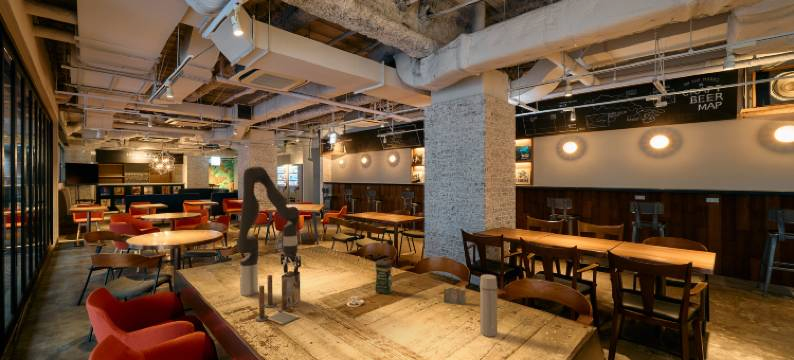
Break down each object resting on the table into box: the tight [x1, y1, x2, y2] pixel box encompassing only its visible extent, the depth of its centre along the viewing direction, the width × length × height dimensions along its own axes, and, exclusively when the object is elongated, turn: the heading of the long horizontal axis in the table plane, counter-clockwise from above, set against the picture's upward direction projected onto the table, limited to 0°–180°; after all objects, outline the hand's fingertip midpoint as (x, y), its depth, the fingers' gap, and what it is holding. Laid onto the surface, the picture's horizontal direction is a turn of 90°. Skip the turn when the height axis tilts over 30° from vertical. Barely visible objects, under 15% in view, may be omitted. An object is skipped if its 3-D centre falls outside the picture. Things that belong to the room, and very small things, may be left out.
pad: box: [266, 311, 300, 326], centre depth 172 cm, size 12×10×1 cm
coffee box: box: [281, 270, 301, 307], centre depth 193 cm, size 9×6×16 cm
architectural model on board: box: [443, 285, 467, 305], centre depth 192 cm, size 11×3×10 cm, turn 74°
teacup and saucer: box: [346, 295, 365, 307], centre depth 191 cm, size 9×8×4 cm
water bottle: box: [479, 274, 500, 338], centre depth 153 cm, size 9×8×25 cm
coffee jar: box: [374, 259, 393, 295], centre depth 209 cm, size 10×8×19 cm
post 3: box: [277, 278, 292, 313], centre depth 182 cm, size 6×6×16 cm
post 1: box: [254, 285, 270, 323], centre depth 172 cm, size 6×6×16 cm
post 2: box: [264, 274, 277, 309], centre depth 189 cm, size 6×6×16 cm
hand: (290, 273), depth 193 cm, fingers open, 8 cm apart
